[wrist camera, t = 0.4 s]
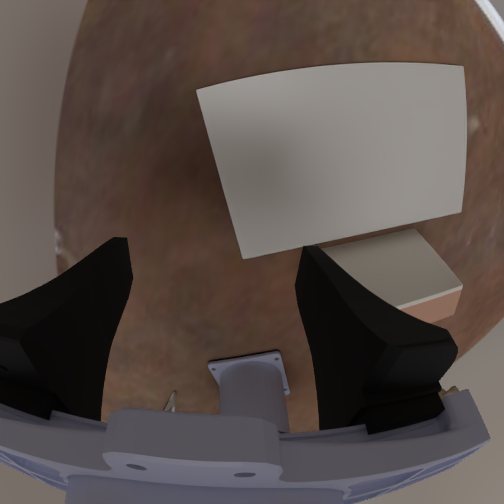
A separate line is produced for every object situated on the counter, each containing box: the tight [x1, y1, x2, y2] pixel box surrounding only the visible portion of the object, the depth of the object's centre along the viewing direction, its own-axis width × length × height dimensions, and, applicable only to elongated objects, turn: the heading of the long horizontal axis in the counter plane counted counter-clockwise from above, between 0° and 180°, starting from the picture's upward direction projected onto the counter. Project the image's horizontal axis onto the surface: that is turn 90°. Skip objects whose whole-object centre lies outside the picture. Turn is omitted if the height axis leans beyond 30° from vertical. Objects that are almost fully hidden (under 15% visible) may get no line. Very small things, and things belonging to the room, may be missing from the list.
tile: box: [321, 228, 463, 323], centre depth 22 cm, size 3×10×8 cm, turn 102°
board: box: [196, 62, 467, 259], centre depth 20 cm, size 13×20×1 cm, turn 102°
